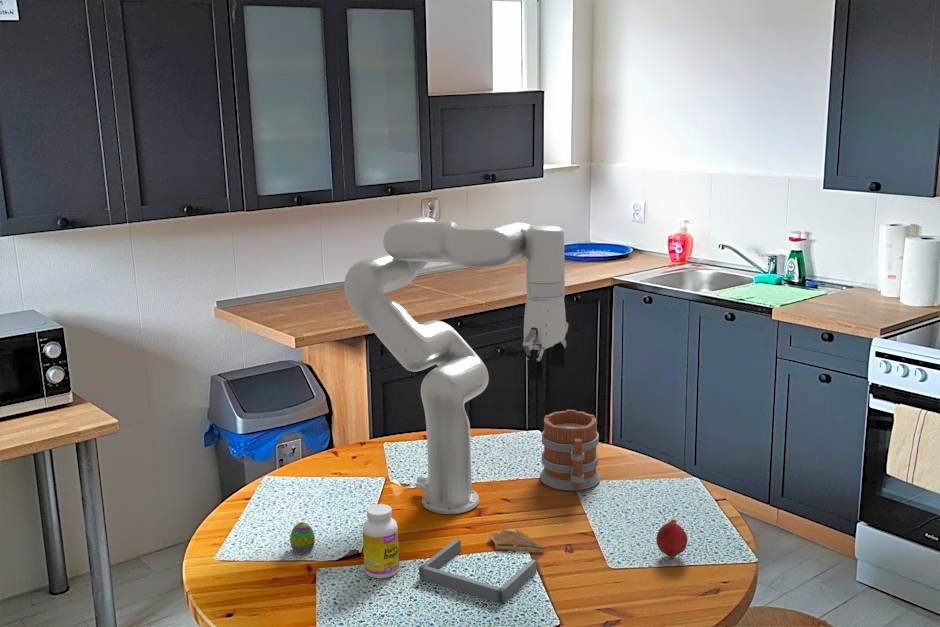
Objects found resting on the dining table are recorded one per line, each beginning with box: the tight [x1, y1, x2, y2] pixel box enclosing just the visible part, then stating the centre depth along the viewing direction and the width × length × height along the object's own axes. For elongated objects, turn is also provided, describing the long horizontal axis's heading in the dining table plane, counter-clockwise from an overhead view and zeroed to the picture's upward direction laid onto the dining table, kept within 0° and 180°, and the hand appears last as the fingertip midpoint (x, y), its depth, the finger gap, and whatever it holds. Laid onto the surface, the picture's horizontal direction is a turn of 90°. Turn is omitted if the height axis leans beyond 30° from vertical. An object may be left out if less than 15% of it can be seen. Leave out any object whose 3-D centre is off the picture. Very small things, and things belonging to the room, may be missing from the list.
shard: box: [488, 528, 546, 554], centre depth 192 cm, size 11×8×2 cm
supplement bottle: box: [362, 503, 400, 579], centre depth 182 cm, size 7×7×13 cm
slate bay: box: [418, 538, 538, 605], centre depth 181 cm, size 18×13×2 cm
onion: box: [655, 518, 688, 559], centre depth 185 cm, size 6×6×8 cm
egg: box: [289, 521, 316, 555], centre depth 192 cm, size 5×5×6 cm
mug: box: [539, 409, 601, 492], centre depth 219 cm, size 14×19×15 cm
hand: (547, 372), depth 192 cm, fingers open, 9 cm apart
